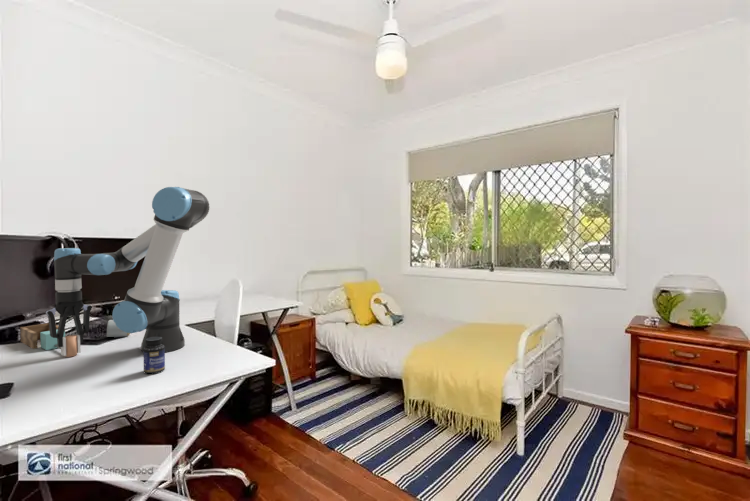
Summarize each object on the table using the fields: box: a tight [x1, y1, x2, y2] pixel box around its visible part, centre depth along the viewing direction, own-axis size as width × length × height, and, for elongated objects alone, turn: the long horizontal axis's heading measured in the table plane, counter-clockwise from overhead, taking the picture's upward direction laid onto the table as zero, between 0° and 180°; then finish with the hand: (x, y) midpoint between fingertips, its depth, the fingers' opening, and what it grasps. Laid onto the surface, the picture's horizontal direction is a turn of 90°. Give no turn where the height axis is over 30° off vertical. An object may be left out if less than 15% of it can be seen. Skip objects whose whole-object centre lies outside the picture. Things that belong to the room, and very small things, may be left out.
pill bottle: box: [142, 337, 166, 374], centre depth 125 cm, size 6×6×11 cm
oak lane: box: [19, 322, 66, 350], centre depth 155 cm, size 16×10×6 cm, turn 56°
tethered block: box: [39, 329, 78, 358], centre depth 144 cm, size 22×6×7 cm, turn 57°
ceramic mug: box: [106, 319, 131, 338], centre depth 166 cm, size 11×8×8 cm
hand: (70, 353), depth 139 cm, fingers closed on tethered block, 4 cm apart
